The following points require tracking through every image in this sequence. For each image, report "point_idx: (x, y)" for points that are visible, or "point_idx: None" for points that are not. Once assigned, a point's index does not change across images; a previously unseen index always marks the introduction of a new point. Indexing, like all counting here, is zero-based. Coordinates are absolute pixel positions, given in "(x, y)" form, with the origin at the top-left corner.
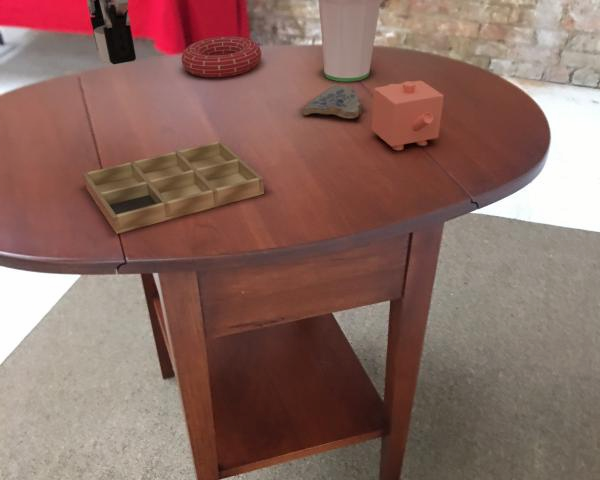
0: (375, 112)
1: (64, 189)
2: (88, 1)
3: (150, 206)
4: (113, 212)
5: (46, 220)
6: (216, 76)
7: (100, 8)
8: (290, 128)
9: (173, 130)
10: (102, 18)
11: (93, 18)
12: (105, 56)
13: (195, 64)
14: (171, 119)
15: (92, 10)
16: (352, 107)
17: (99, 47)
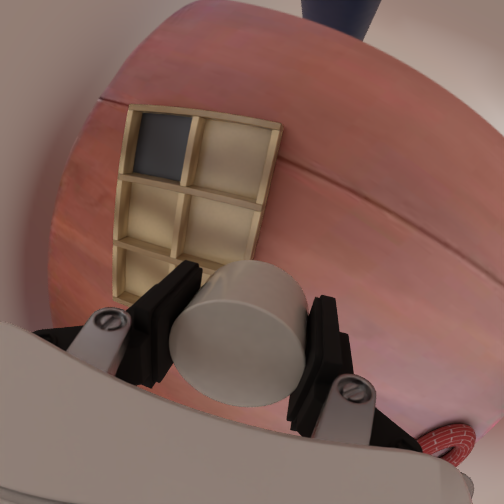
0: None
1: (307, 100)
2: (350, 419)
3: (122, 156)
4: (138, 109)
5: (234, 45)
6: (421, 437)
7: (314, 420)
8: (245, 413)
9: (361, 337)
10: (303, 389)
11: (322, 366)
12: (224, 269)
13: (445, 435)
14: (391, 354)
15: (328, 393)
16: None
17: (240, 276)
